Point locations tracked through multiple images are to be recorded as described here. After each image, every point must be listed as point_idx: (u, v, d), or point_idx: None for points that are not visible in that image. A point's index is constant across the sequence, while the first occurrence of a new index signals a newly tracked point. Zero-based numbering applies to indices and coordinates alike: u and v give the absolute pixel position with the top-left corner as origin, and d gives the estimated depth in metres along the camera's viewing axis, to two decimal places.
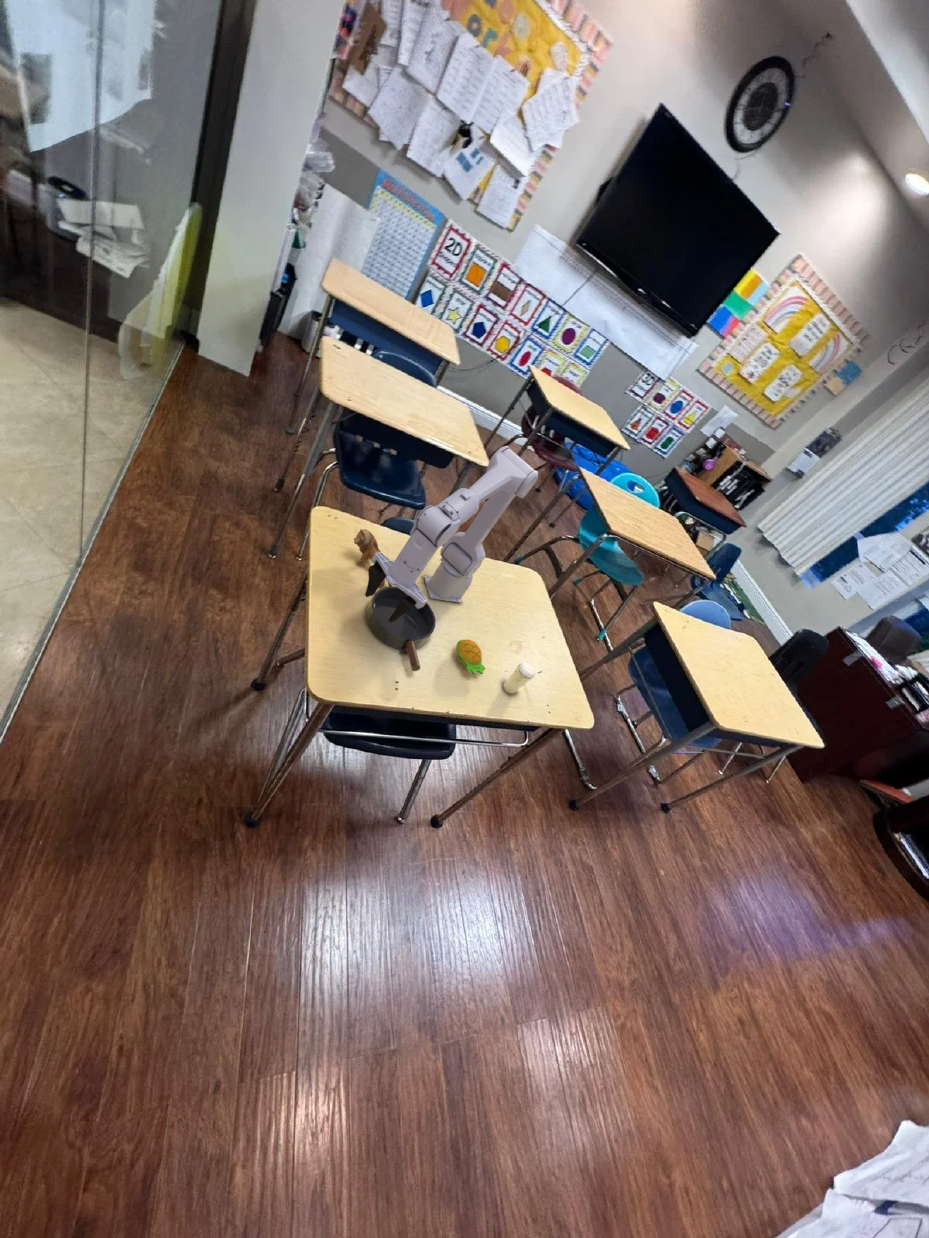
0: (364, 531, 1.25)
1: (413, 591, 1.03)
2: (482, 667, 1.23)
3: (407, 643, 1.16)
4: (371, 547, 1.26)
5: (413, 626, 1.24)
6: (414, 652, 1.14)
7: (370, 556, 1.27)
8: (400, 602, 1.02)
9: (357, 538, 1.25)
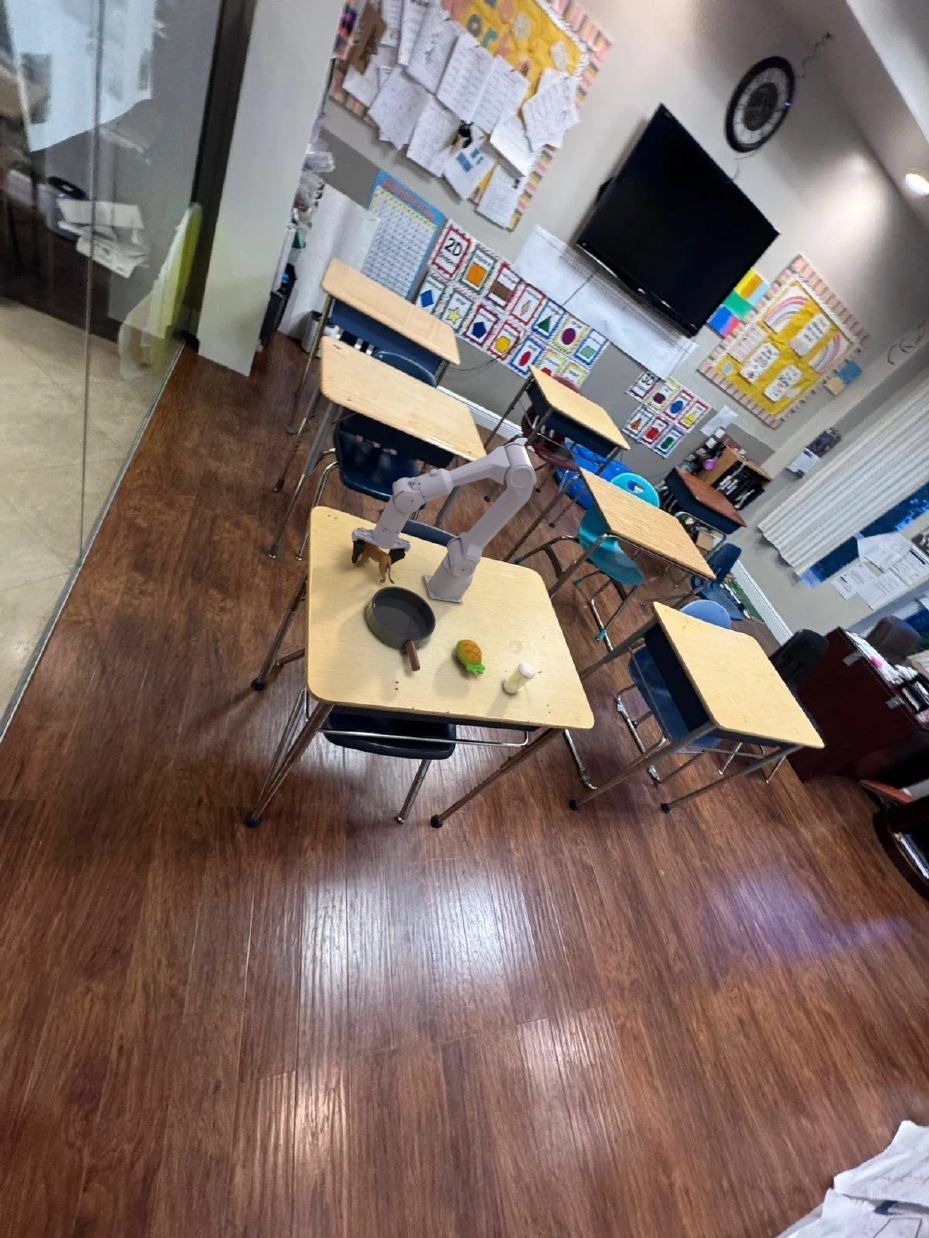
0: (361, 529, 1.26)
1: None
2: (482, 667, 1.23)
3: (407, 643, 1.16)
4: (369, 544, 1.26)
5: (413, 626, 1.24)
6: (414, 652, 1.14)
7: (369, 553, 1.27)
8: None
9: None
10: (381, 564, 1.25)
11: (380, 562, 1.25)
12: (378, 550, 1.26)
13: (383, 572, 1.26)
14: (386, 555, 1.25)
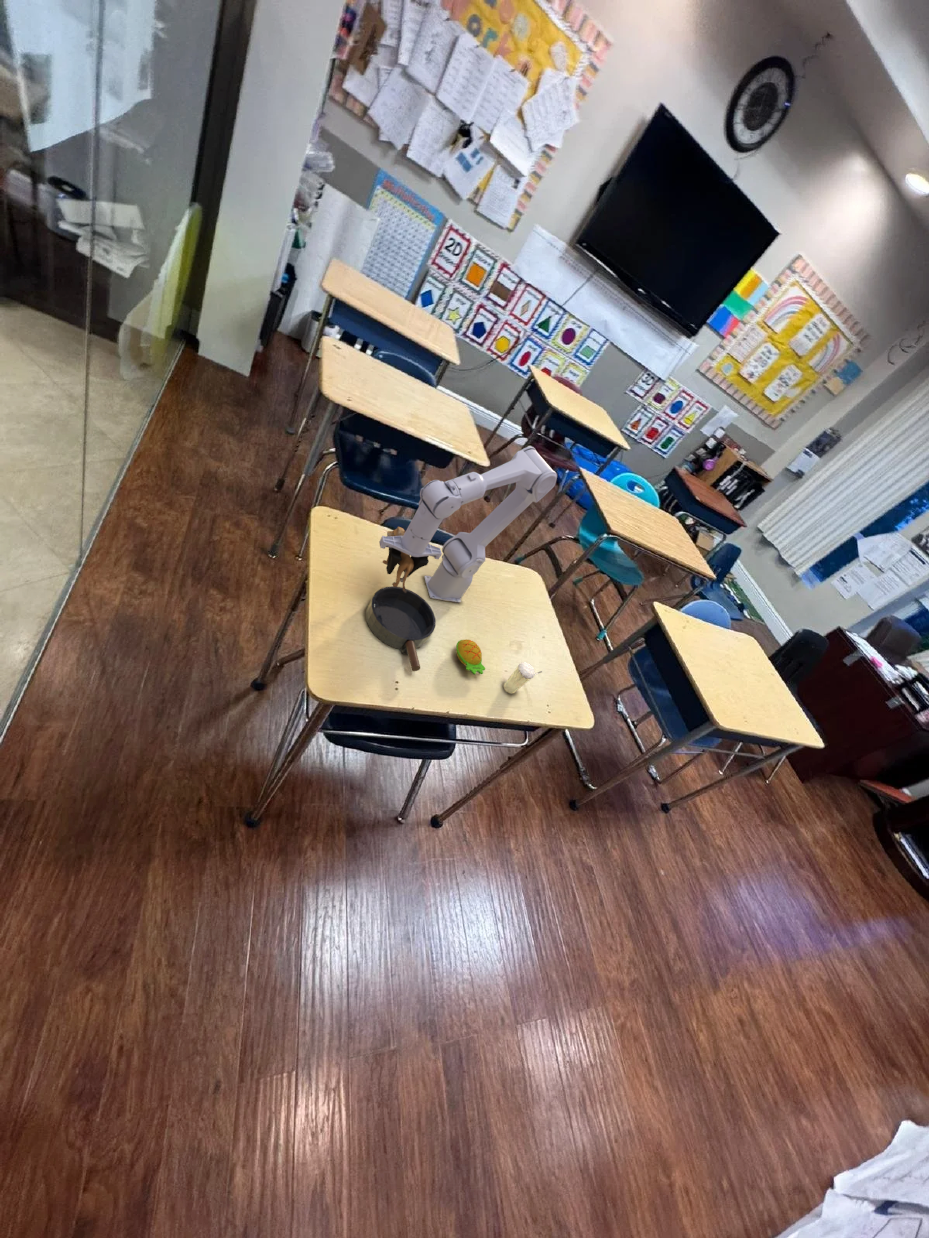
0: (400, 528, 1.20)
1: None
2: (482, 667, 1.23)
3: (407, 643, 1.16)
4: None
5: (413, 626, 1.24)
6: (414, 652, 1.14)
7: None
8: None
9: (390, 532, 1.20)
10: (401, 566, 1.17)
11: (401, 564, 1.17)
12: (405, 553, 1.19)
13: (399, 575, 1.17)
14: (410, 559, 1.17)
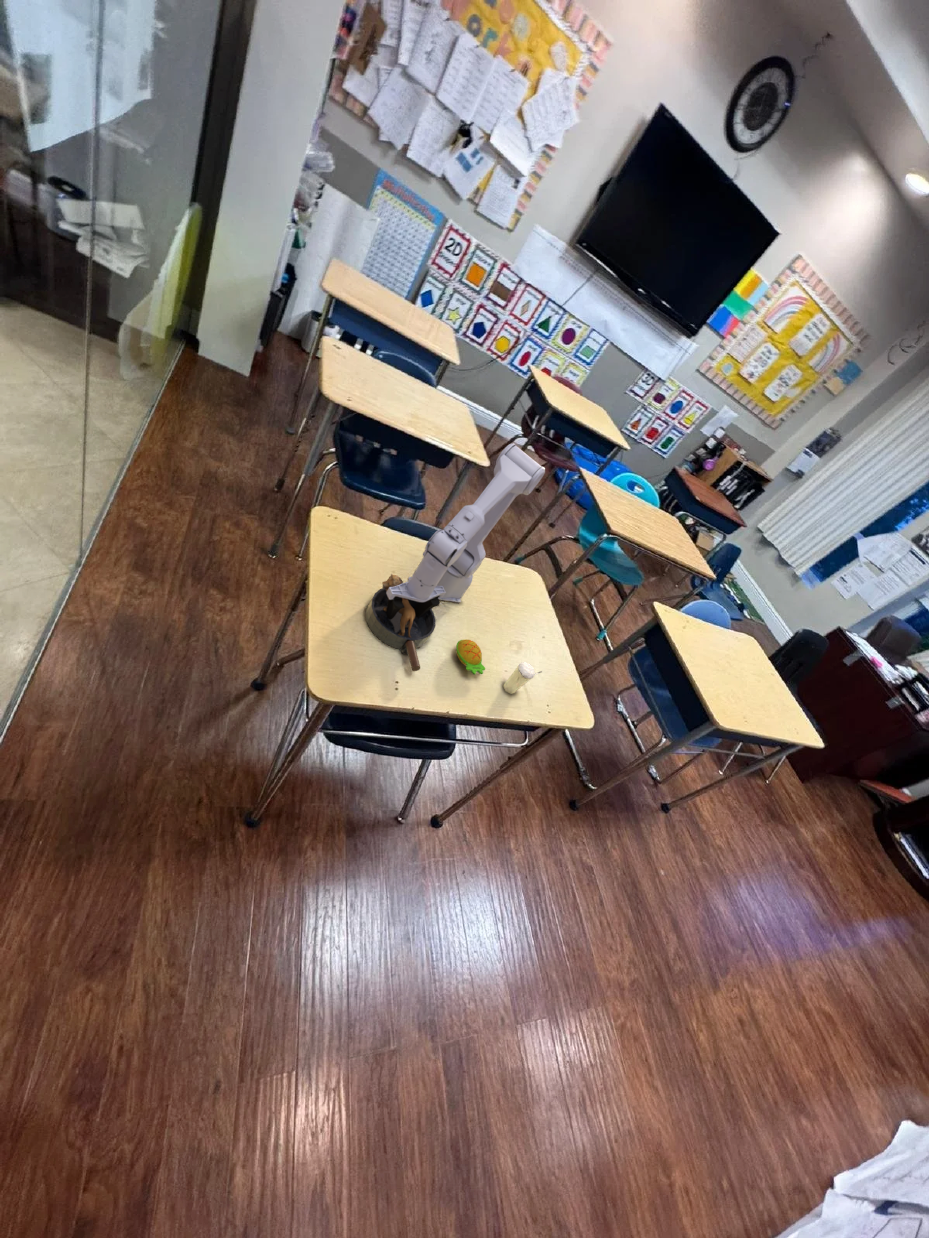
0: (394, 576, 1.19)
1: (402, 590, 1.14)
2: (482, 667, 1.23)
3: (407, 643, 1.16)
4: None
5: (413, 626, 1.24)
6: (414, 652, 1.14)
7: None
8: None
9: (385, 582, 1.19)
10: (403, 618, 1.18)
11: (402, 616, 1.18)
12: (405, 603, 1.19)
13: (403, 627, 1.18)
14: (410, 610, 1.17)
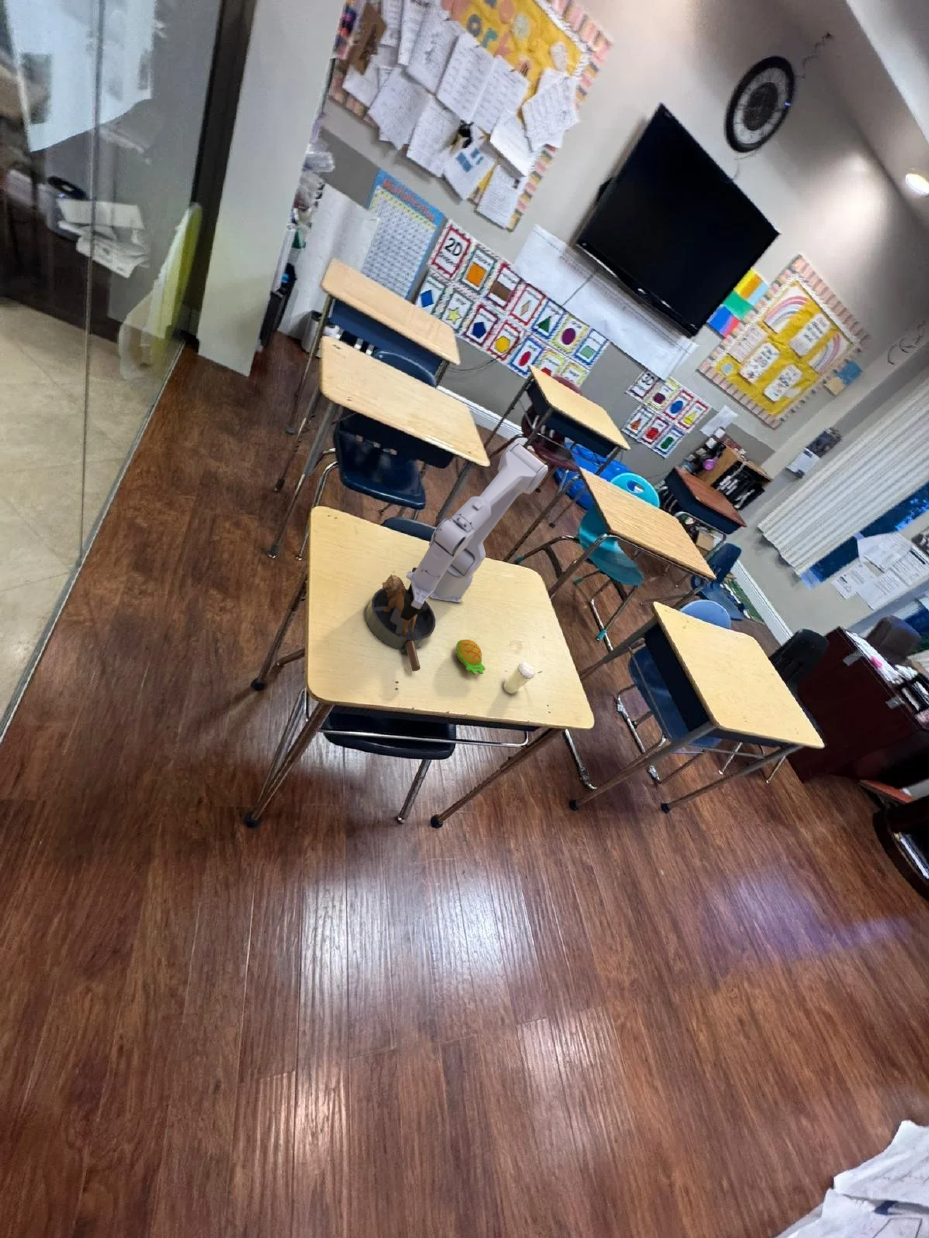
0: (394, 577, 1.19)
1: (419, 592, 1.11)
2: (482, 667, 1.23)
3: (407, 643, 1.16)
4: (399, 594, 1.19)
5: None
6: (414, 652, 1.14)
7: (396, 603, 1.20)
8: (405, 595, 1.12)
9: (385, 583, 1.19)
10: None
11: None
12: None
13: (405, 626, 1.18)
14: None
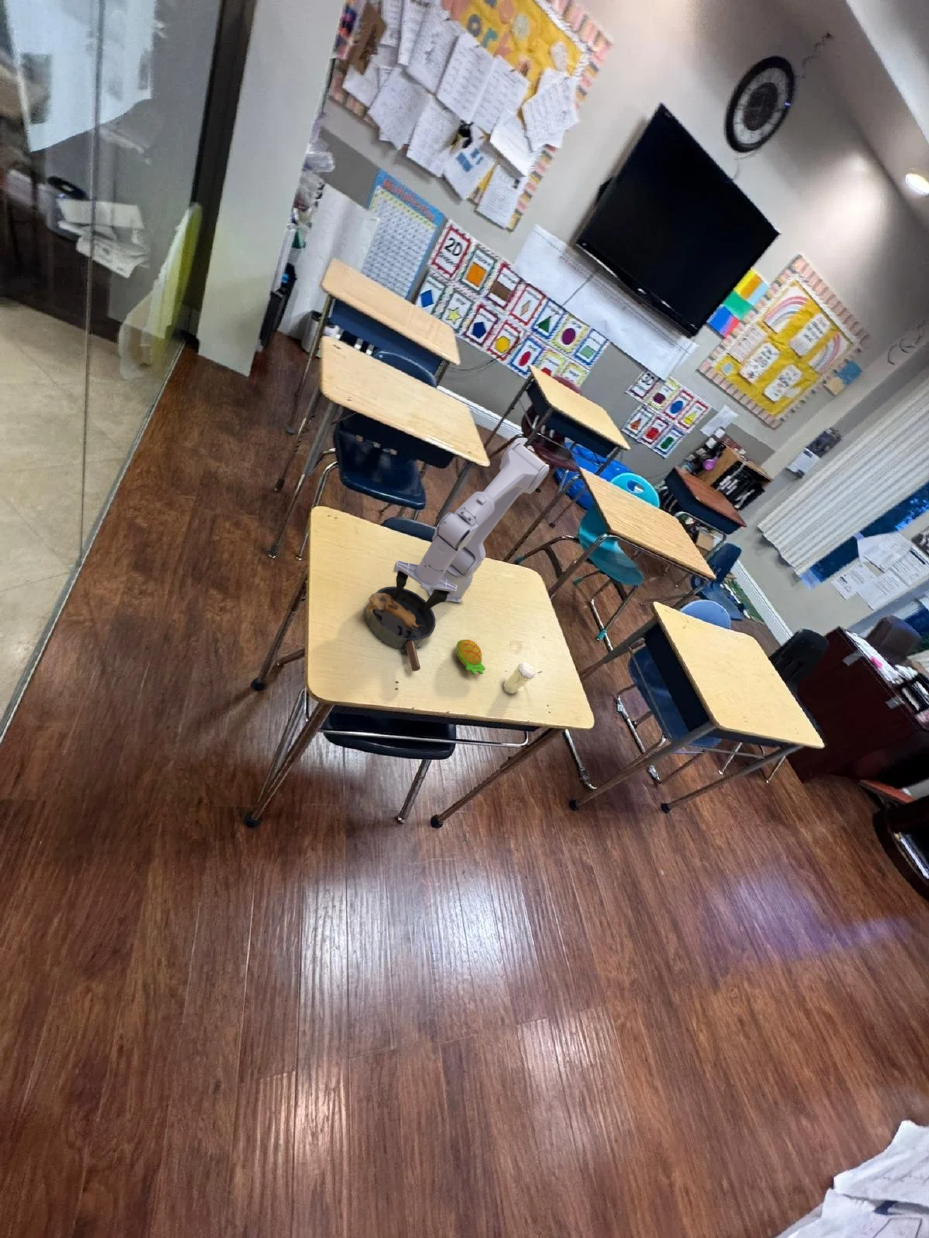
0: (374, 602, 1.12)
1: (443, 584, 1.14)
2: (482, 667, 1.23)
3: (407, 643, 1.16)
4: (388, 609, 1.15)
5: (413, 626, 1.24)
6: (414, 652, 1.14)
7: (390, 613, 1.17)
8: (437, 598, 1.14)
9: (370, 608, 1.14)
10: (406, 626, 1.18)
11: (404, 624, 1.18)
12: (399, 613, 1.16)
13: (410, 628, 1.20)
14: (409, 619, 1.16)
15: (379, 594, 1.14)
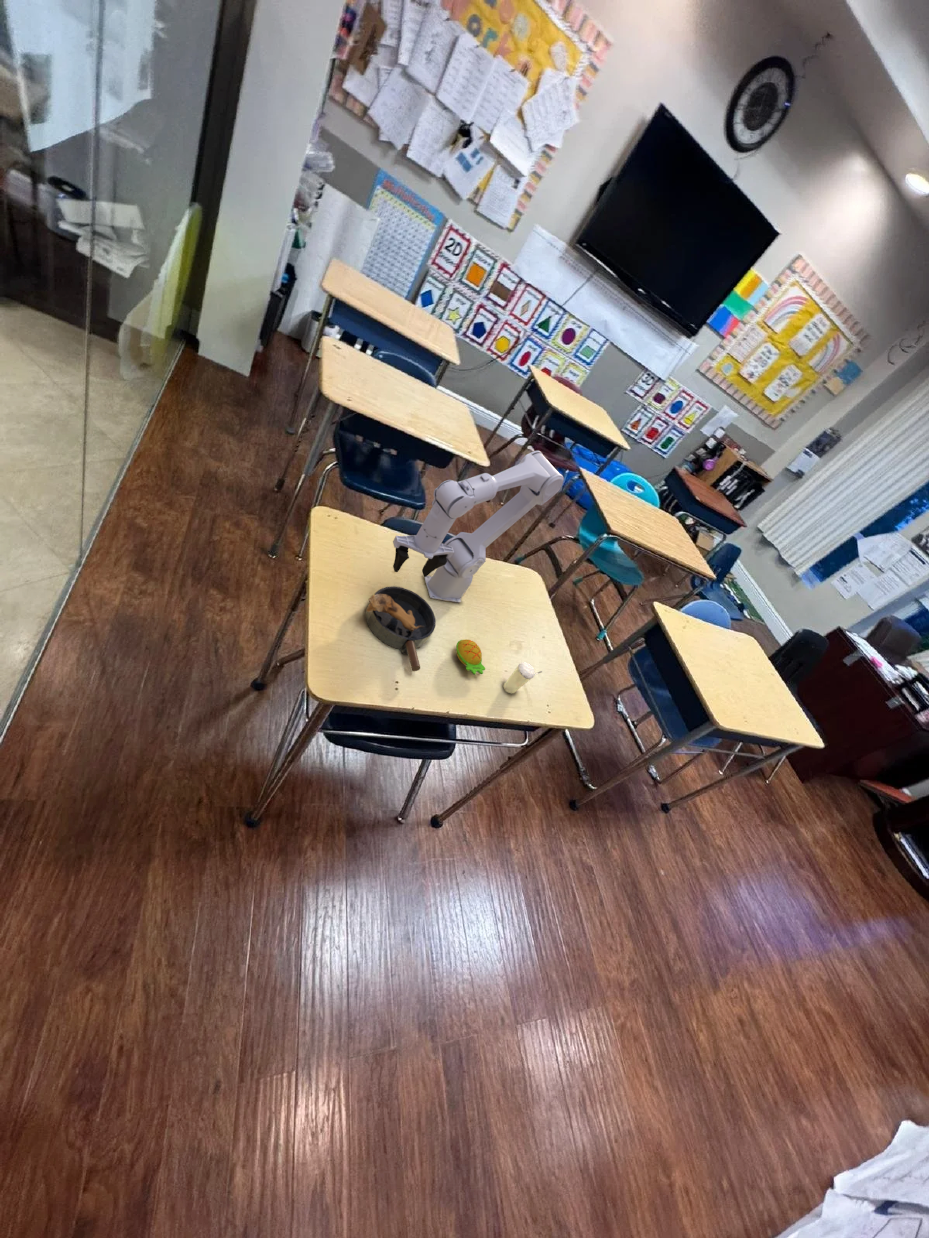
0: (373, 604, 1.12)
1: (441, 548, 1.19)
2: (482, 667, 1.23)
3: (407, 643, 1.16)
4: (387, 611, 1.15)
5: None
6: (414, 652, 1.14)
7: None
8: (439, 563, 1.19)
9: (370, 609, 1.14)
10: (405, 628, 1.18)
11: (404, 626, 1.18)
12: (398, 616, 1.16)
13: (409, 629, 1.20)
14: (408, 622, 1.16)
15: (379, 596, 1.13)
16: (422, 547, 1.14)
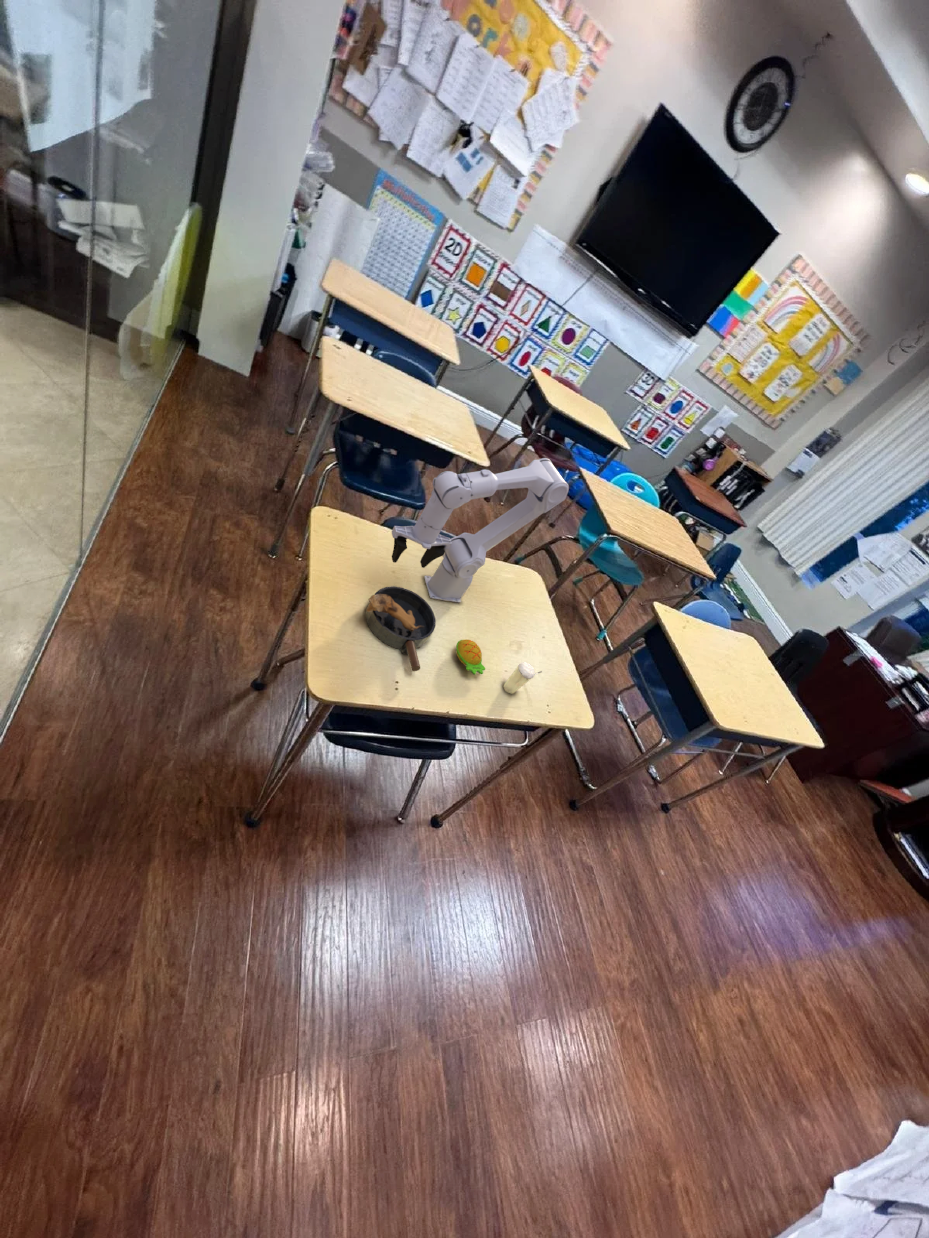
0: (373, 604, 1.12)
1: (438, 539, 1.21)
2: (482, 667, 1.23)
3: (407, 643, 1.16)
4: (387, 611, 1.15)
5: None
6: (414, 652, 1.14)
7: (390, 614, 1.17)
8: (436, 554, 1.21)
9: (370, 609, 1.14)
10: (405, 628, 1.18)
11: (404, 626, 1.18)
12: (398, 616, 1.16)
13: (409, 629, 1.20)
14: (408, 622, 1.16)
15: (379, 596, 1.13)
16: (420, 537, 1.16)
